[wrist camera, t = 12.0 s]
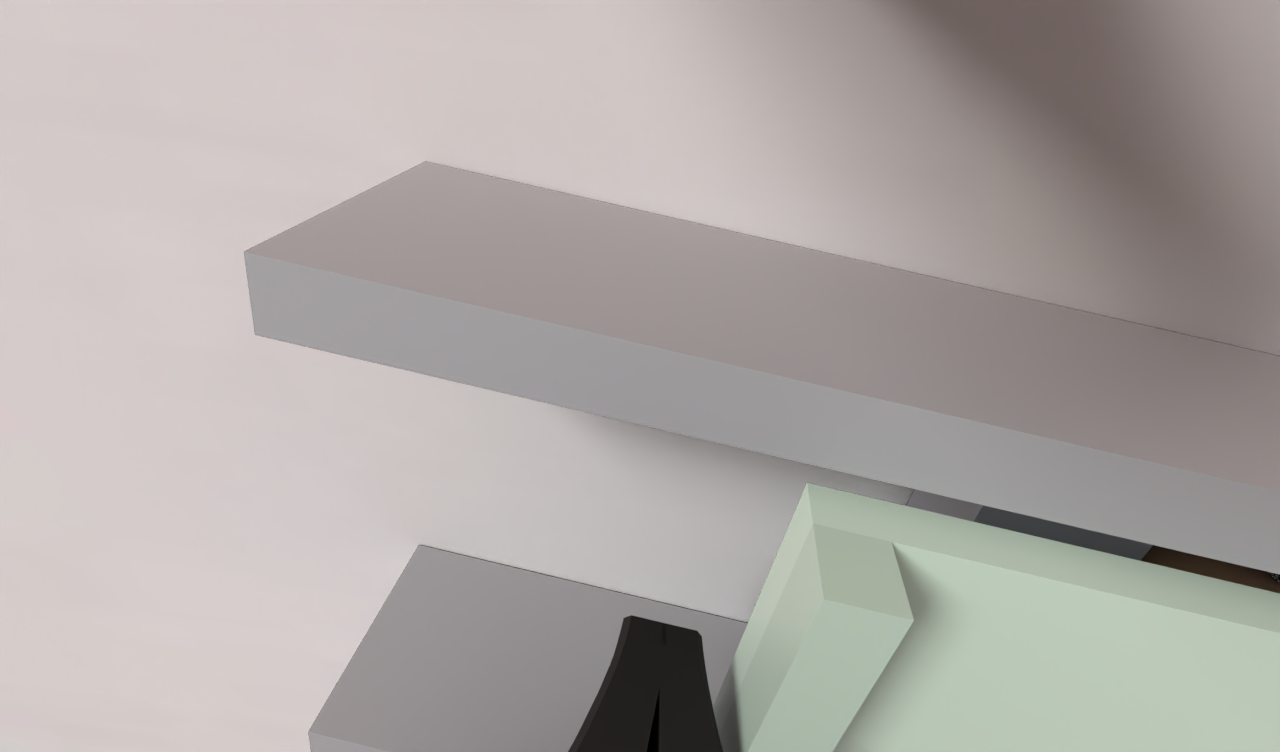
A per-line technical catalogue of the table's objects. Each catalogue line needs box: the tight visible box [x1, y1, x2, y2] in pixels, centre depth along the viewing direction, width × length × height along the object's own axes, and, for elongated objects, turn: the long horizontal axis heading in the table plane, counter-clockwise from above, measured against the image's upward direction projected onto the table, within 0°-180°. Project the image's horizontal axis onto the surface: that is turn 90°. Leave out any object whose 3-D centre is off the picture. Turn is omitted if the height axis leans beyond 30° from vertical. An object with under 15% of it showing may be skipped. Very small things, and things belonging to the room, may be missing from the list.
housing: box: [244, 161, 1280, 752], centre depth 13 cm, size 12×24×6 cm, turn 79°
